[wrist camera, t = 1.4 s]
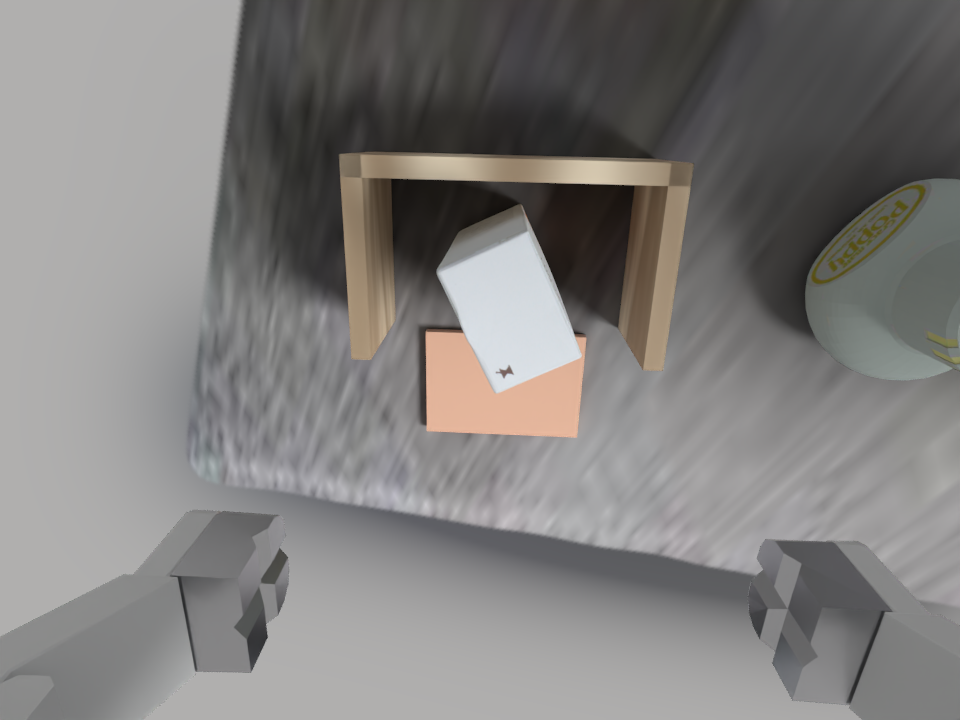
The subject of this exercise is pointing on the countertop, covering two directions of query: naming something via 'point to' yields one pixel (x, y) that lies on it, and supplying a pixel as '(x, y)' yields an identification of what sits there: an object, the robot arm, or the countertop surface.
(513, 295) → the skincare box
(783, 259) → the countertop surface
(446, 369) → the tile
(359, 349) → the open wooden frame
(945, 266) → the air freshener
